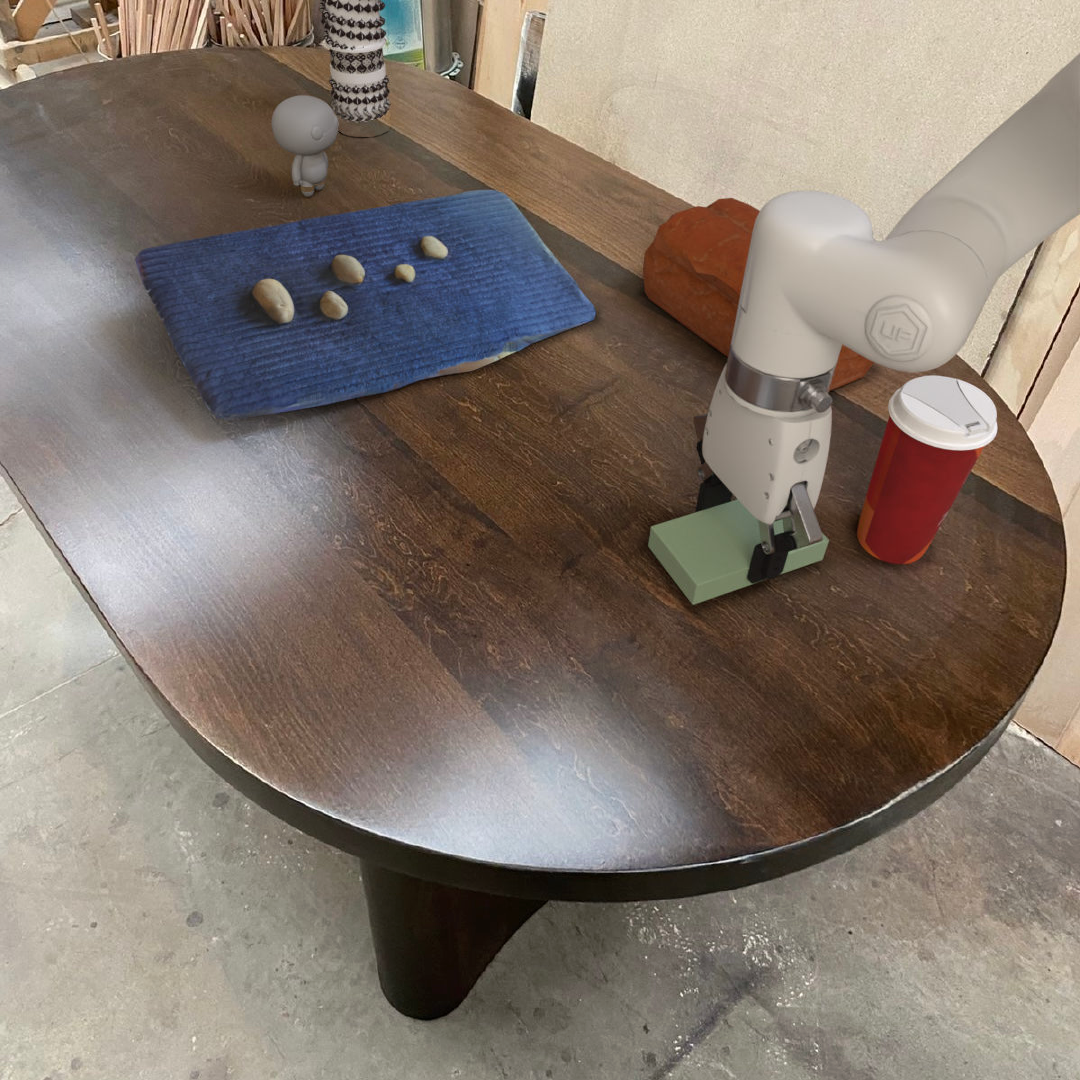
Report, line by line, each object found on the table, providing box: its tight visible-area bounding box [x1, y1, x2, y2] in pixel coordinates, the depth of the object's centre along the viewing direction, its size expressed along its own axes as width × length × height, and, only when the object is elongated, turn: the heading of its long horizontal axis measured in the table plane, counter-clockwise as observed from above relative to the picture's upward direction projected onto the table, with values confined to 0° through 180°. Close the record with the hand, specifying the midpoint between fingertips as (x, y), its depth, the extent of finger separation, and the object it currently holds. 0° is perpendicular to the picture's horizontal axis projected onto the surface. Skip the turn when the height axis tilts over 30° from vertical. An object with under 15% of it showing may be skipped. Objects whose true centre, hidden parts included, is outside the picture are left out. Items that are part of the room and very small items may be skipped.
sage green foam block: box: [647, 498, 830, 606], centre depth 81 cm, size 13×7×2 cm, turn 115°
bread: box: [642, 197, 875, 392], centre depth 104 cm, size 16×27×11 cm, turn 34°
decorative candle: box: [318, 0, 392, 123], centre depth 135 cm, size 9×9×25 cm
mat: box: [134, 189, 597, 421], centre depth 106 cm, size 45×27×12 cm, turn 125°
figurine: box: [271, 94, 339, 198], centre depth 124 cm, size 8×8×12 cm
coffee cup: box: [856, 374, 998, 565], centre depth 79 cm, size 8×8×15 cm
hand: (737, 543), depth 81 cm, fingers closed on sage green foam block, 7 cm apart
